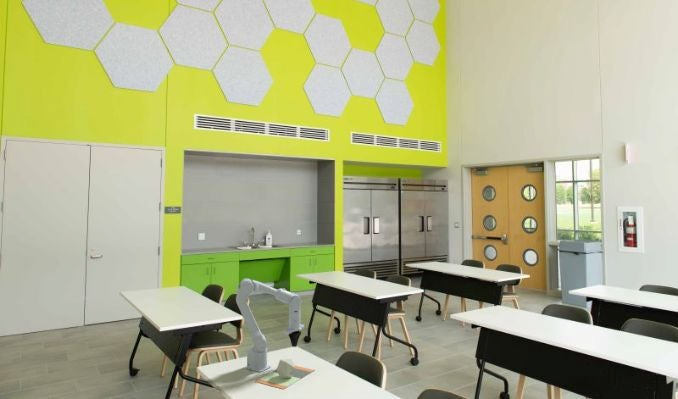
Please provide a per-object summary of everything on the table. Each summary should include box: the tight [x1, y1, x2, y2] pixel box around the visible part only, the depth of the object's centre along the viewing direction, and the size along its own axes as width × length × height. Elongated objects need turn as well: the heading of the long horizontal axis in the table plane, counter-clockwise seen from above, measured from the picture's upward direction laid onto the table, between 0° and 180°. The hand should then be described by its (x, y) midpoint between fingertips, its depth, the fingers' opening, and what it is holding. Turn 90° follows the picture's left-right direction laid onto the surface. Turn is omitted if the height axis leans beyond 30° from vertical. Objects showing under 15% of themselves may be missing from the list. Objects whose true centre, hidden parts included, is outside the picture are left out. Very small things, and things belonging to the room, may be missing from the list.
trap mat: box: [254, 364, 315, 390], centre depth 192 cm, size 16×25×1 cm, turn 151°
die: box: [276, 358, 296, 379], centre depth 190 cm, size 8×9×10 cm
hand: (294, 346), depth 206 cm, fingers closed
